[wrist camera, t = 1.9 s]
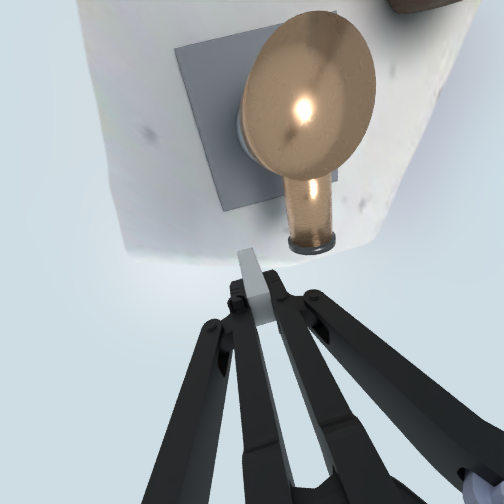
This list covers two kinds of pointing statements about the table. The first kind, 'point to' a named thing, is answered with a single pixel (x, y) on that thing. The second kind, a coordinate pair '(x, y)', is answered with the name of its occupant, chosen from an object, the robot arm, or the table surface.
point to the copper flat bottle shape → (308, 115)
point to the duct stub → (228, 114)
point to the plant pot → (418, 5)
